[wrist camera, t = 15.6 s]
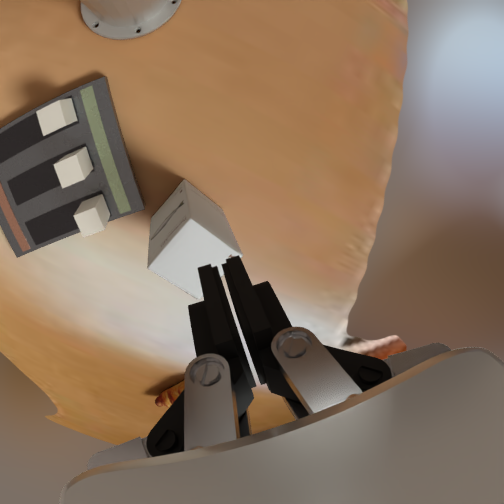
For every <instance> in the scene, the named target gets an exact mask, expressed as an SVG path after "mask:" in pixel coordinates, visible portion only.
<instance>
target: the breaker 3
mask: <svg viewBox="0 0 504 504" xmlns="http://www.w3.org/2000/svg"><path fill="white" fill-rule="evenodd" d="M109 217H110V212H109V210H108V207H107V205H106V202H105V199H104V197H103V194H101V195H98V196H95V197H93V198H90V199H88V200H85V201H82V203H81V204H80V206H79V208H78V209H77V211H76V212H75V214H74V218H75V221H76V223H77V225H78V227H79V229H80V232H81V234H82V236H83V238H84V237H87V236H89V235H92V234H95V233H98V232H100V231H103V230H105V228H106V225H107V222H108V220H109Z"/></svg>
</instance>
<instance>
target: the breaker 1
mask: <svg viewBox="0 0 504 504" xmlns="http://www.w3.org/2000/svg"><path fill="white" fill-rule="evenodd" d="M36 113H37V116H38V120H39V123H40V127H41V130H42V133H43V136H45V135H47V134H49V133H51V132H54V131H56V130H58V129H60V128H62V127H64V126H66V125H69V124H71V123H73V122H75V121H78V120H77V117H76V113H75V110H74V106H73V102H72V98H69V99H63V100H58V101H56V102H54V103H52V104H50V105H48V106H46V107H44V108H42V109H40V110H38V111H37V112H36Z"/></svg>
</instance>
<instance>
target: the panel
mask: <svg viewBox="0 0 504 504" xmlns="http://www.w3.org/2000/svg"><path fill="white" fill-rule="evenodd" d="M69 98H72V102H73V106H74V110H75V113H76V117H77V120H78V121H75V122H73V123H71V124H69V125H66V126H64V127H62V128H60V129H58V130H56V131H54V132H51V133H49V134H47V135H45V136H43V133H42V130H41V127H40V123H39V120H38V116H37V113H36V112H37V111H38V110H40V109H42V108H44V107H46V106H48V105H50V104H52V103H54V102H56V101H58V100H63V99H69ZM84 147H86V148H87V151H88V154H89V157H90V160H91V163H92V166H93V170H92V171H91V172H90V173H89V175H88V176H87V177H86V178H85V179H84V180H82V181H79V182H77V183H75V184H72V185H70V186H68V187H65V188H63V189H62V186H61V184H60V181H59V178H58V176H57V173H56V170H55V168H54V164H55V163H56V162H57V161H59V160H60V159H61V158H63V157H64V156H65V155H67V154H70V153H72V152H74V151H77V150H79V149H81V148H84ZM101 194H103V197H104V199H105V202H106V205H107V207H108V210H109V212H110V217H109V220H108V222H109V221H112V220H114V219H117V218H120V217H123V216H126V215H129V214H132V213H135V212H138V211H141V210H144V209H145V203H144V200H143V197H142V194H141V191H140V188H139V185H138V183H137V180H136V177H135V173H134V170H133V167H132V164H131V161H130V158H129V155H128V152H127V148H126V145H125V142H124V138H123V135H122V132H121V128H120V125H119V121H118V118H117V114H116V111H115V107H114V103H113V99H112V96H111V92H110V88H109V84H108V80H107V77H102V78H99V79H97V80H94V81H92V82H89V83H87V84H85V85H82V86H80V87H78V88H75V89H73V90H71V91H69V92H67V93H65V94H62V95H60V96H58V97H56V98H54V99H52V100H50V101H48V102H46V103H44V104H42V105H40V106H39V107H37V108H35V109H33V110H31V111H29V112H28V113H26V114H24V115H22V116H21V117H19V118H17V119H15V120H14V121H12V122H10V123H9V124H7V125H6V126H4V127H2V128H1V129H0V225H1V227H2V230H3V232H4V234H5V236H6V238H7V240H8V241H9V243H10V245H11V247H12V249H13V251H14V253H15V255H16V256H17V258H18V257H20V256H22V255H25V254H27V253H29V252H32V251H34V250H36V249H39V248H41V247H44V246H46V245H48V244H51V243H53V242H56V241H58V240H61V239H63V238H66V237H69V236H71V235H74V234H76V233H79V232H80V229H79V227H78V225H77V223H76V221H75V218H74V214H75V212H76V211H77V209H78V208H79V206H80V204H81V203H82V201H85V200H88V199H90V198H93V197H95V196H98V195H101Z"/></svg>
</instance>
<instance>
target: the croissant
mask: <svg viewBox="0 0 504 504" xmlns="http://www.w3.org/2000/svg"><path fill="white" fill-rule="evenodd" d="M184 387H185V380H184V381H182V382H180V383H179V384H177V385H175V386H173V387H171V388H169V389H167V390H165V391H163V392H162V393H161V394H160V395H159V396H158V397H157V398H156V400H155V404H156V405H157V406H167V407H169V408H170V406H171V405H172V404H173V402H174V401H175V400H176V399H177V397H178V396H179V395H180V394H181V392H182V391H183V390H184Z"/></svg>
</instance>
